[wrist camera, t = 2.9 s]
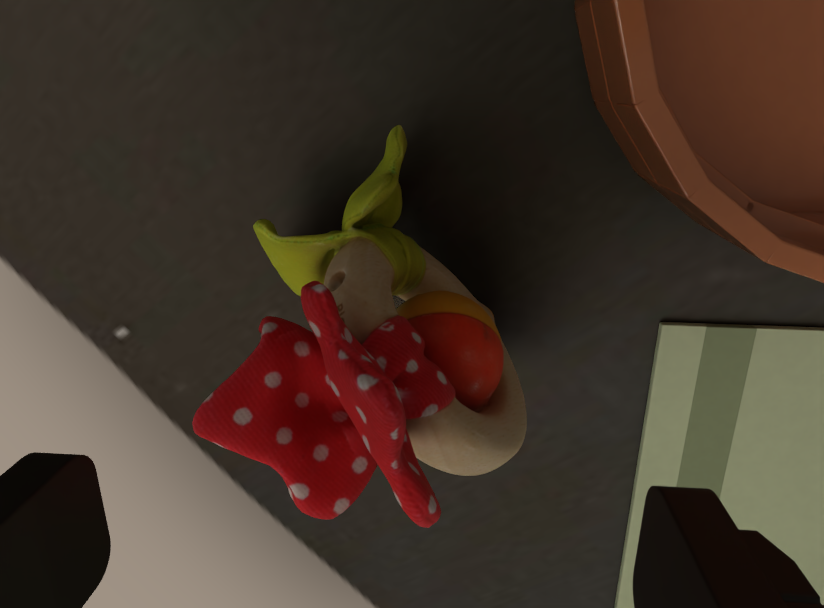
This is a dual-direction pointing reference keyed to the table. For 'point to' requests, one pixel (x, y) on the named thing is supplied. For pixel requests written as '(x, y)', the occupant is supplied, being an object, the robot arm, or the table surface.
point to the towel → (738, 434)
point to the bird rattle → (370, 366)
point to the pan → (720, 113)
